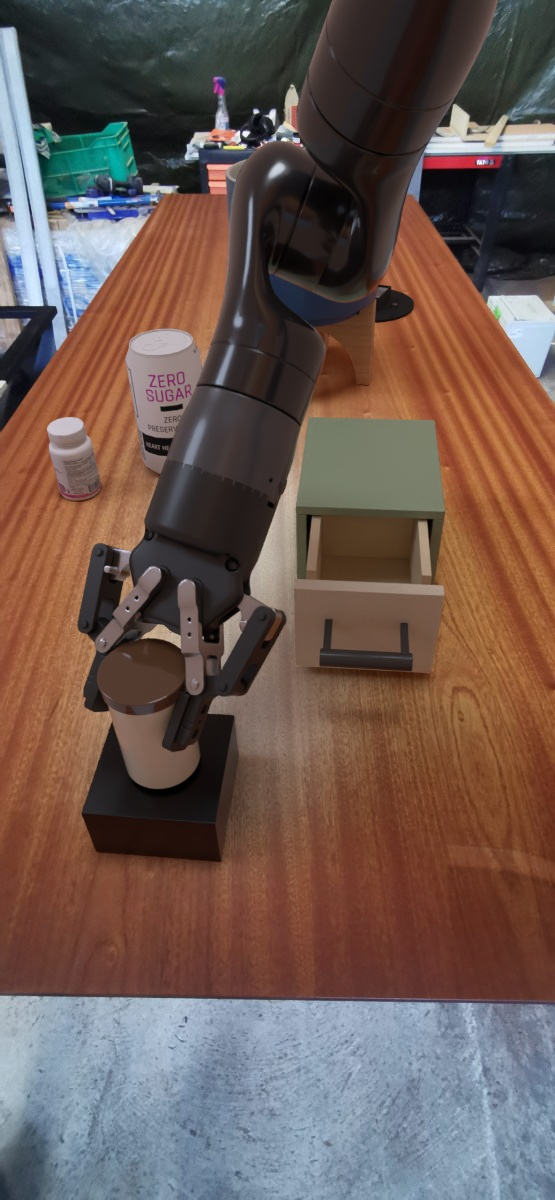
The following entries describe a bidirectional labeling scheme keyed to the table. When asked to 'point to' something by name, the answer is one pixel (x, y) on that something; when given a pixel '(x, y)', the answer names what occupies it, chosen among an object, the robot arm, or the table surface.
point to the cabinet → (370, 476)
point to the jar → (147, 709)
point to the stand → (165, 801)
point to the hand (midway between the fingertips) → (134, 728)
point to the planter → (327, 310)
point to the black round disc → (391, 304)
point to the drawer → (367, 596)
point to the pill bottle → (73, 459)
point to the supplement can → (161, 387)
